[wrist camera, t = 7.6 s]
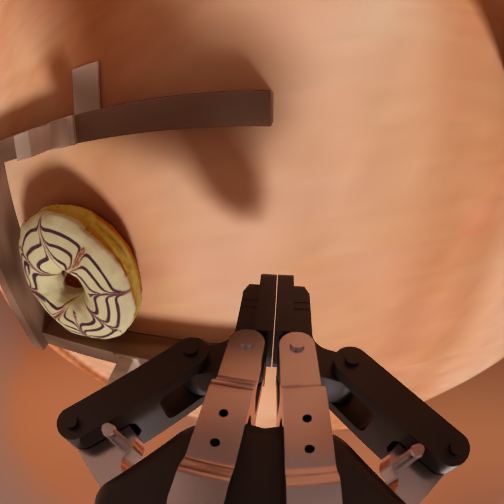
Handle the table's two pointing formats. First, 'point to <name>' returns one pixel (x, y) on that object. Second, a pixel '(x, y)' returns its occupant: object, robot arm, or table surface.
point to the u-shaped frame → (92, 128)
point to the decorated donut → (81, 270)
